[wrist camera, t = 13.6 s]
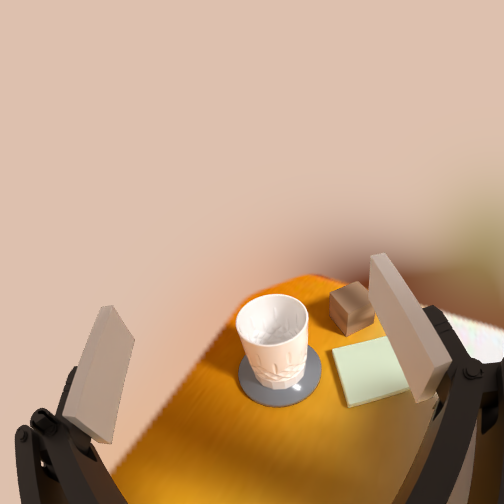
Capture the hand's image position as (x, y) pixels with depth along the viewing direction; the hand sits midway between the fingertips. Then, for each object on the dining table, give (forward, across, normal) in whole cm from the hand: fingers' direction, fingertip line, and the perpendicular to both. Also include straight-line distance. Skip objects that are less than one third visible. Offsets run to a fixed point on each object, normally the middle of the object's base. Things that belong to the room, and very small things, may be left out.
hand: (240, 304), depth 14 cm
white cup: (+12, 0, -24) cm, 27 cm away
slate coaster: (+12, 0, -25) cm, 27 cm away
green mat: (+9, +12, -25) cm, 29 cm away
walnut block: (+19, +12, -25) cm, 34 cm away
